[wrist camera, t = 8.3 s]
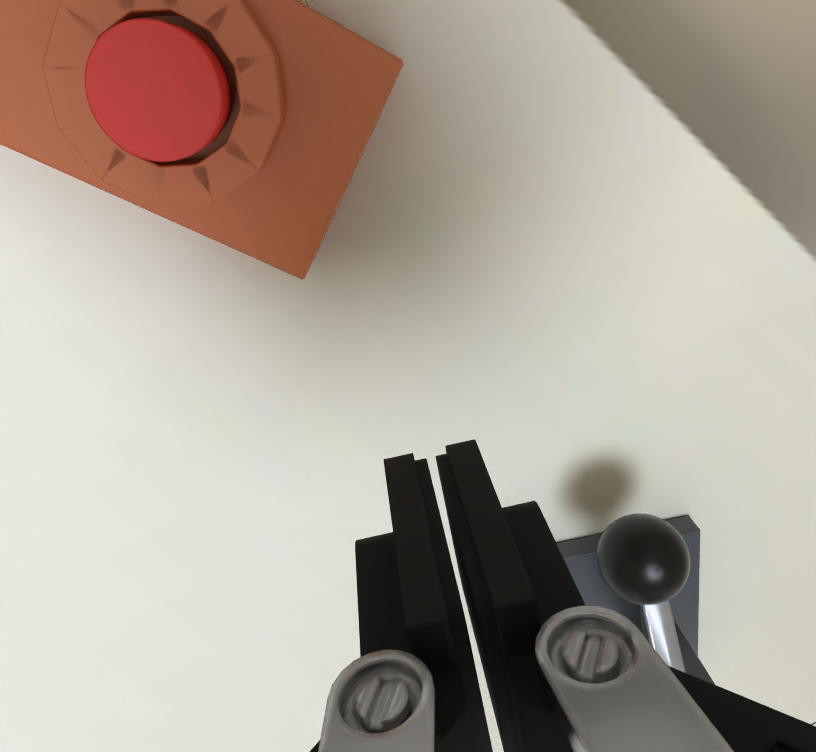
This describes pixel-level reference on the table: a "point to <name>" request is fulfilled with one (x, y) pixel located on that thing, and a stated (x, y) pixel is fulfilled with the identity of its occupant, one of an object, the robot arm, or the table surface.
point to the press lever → (647, 575)
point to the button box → (244, 128)
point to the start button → (156, 89)
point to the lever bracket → (597, 593)
